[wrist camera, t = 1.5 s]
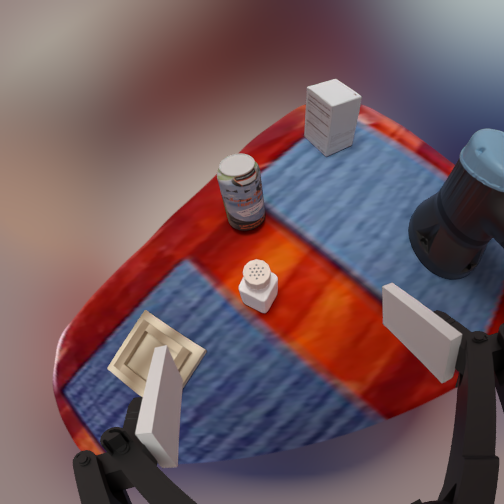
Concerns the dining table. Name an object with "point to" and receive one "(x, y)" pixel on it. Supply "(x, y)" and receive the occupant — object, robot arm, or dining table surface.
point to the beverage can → (241, 191)
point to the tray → (142, 348)
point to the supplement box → (331, 116)
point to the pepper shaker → (258, 285)
